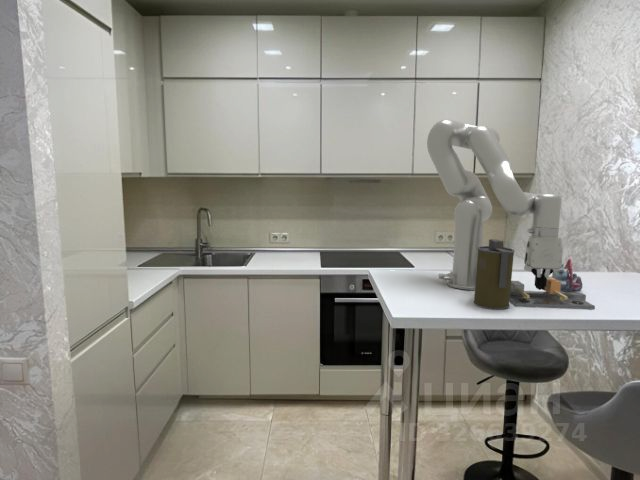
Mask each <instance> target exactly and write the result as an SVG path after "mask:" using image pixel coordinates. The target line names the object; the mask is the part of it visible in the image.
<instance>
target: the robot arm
mask: <svg viewBox="0 0 640 480" xmlns="http://www.w3.org/2000/svg"><path fill="white" fill-rule="evenodd" d="M428 132H429V133H428V135H427V139H426V140H427V141H426V147H427V151H428V155H429V157H430V160H431V162H432V163H433V164H434V167H435V169H436V171H437V174H438V176H439V178H440V180H441V182H442V184H443V187H444V189H445V191H446V192H447V194H449V195H450V196H452V197H455V198H456V197H457V198H458V199H459V201H458V203H457V205H456V206H455V208H454V214H453V215H454V217H453V219H454V243H453V256H452V257H453V259H452V270H451V271H450V272H449V273H439V274H438V280H444V281H446V283H447V286H449V287H450V288H454V289H459V290H466V291H475V283H476V271H477V259H478V249H477V248H478V247H481V246H484V245H483V244H484V222H486V221H487V220H489V219H490V218H491V216H492V213H493V206H492V202H491V200H490V198H489V196H488V194H487V192H486V190H485V188H484V186H483V185H482V183H481V180H480V178H479V177H478V176H477V174H475V173H474V172H473V171H471V170H467V169H465V167H464V166H463V164H462V162H461V160H460V157H459V156H458V154H457V153H456V151H455V150H454V148H453V147H457V148H463V149H468V150H471V151H472V153H473V155H474V156H475V158H476V159H477V161H478V163H479V165H480V166H481V168H482V169H483V171H484V172H485V174H486V177H487V180H488V182H489V184H490V186H491V189H492V191H493V193H494V195H495V197H496V198H497V201H498V202H499V204H500V205H501V207H502V208H503V210H504V211H505V212H506V213H507V214H508V215H510V216H512V217H522V216H527V215H532V226H531V228H527V233H528V234H530V236H529V237H528V238H527V239H528V240H527V242H526V247H525V251H524V265H523V266H524V267H523V269H524V271H527V272H530V273H532V274H533V275H534V286H535V288H536V289H537V290H538V291H541V290H542V291H544V290H545V287H546V282H547V278H548V277H549V276H551V275H552V273H553V272H558V271H560V268H561V266H562V264H563V243H562V237H559V230H560V219H561V209H562V197H561V195H560V194H558V193H532V192H526V191H523V189H522V188H521V187H520V185H519V183H518V182H517V180H516V178H515V176H514V173H513V170H512V169H513V168H512V167H513V166H512V164H513V163H512V160H511V159H510V157H509V155H508V154H507V151H506V150H505V149H504V147H503V145H502V144H501V143H500V139H501V138H500V135H499V133H498V132H497V130H496V129H495V128H493V127H490V126H487V125H473V124H468V123H463V122H459V121H456V120H454V119H450V118H449V119H448V118H447V119H441V120H439V121H436V123H435V124H433V126H432V127H431V128H430V130H429V131H428Z"/></svg>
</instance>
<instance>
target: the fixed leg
mask: <svg viewBox="0 0 640 480" xmlns="http://www.w3.org/2000/svg"><path fill="white" fill-rule="evenodd" d="M510 291H511V292H513V293H514V294H522V295H523V300H526V298H530V295H528V294H527V293H525V292H524V291H525V284H524V283H522V282H521V281H519V280H511V289H510Z"/></svg>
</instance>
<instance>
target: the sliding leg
mask: <svg viewBox="0 0 640 480" xmlns="http://www.w3.org/2000/svg"><path fill="white" fill-rule="evenodd" d="M560 288H561V282H560V281H558V280H556V279H554V278H547V282H546V287H545V290H543V292H548V293H549V294H556V295H558V296H560V301H564V299H567V300H568V297H567V296H565V295H563V294H562V293H560V292H561V290H560Z"/></svg>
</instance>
